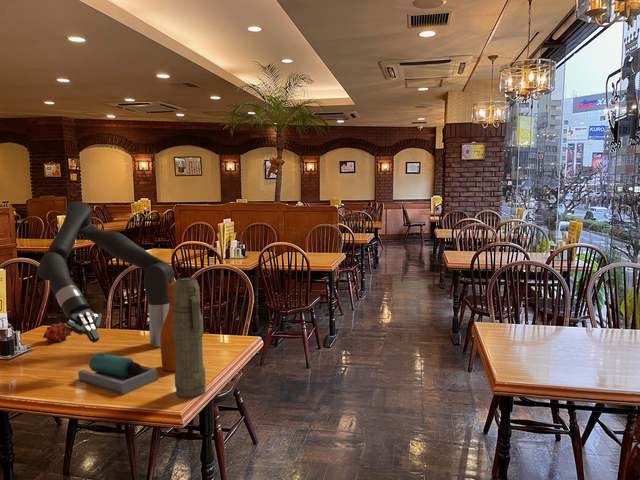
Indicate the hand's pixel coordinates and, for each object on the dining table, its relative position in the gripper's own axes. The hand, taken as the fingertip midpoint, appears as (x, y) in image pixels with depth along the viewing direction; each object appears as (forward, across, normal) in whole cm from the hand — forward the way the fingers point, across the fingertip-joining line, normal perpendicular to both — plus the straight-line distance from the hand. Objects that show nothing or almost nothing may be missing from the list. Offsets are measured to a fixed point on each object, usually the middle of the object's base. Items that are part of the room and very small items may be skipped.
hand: (96, 340), depth 151 cm
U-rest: (+16, 0, -1) cm, 16 cm away
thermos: (+36, -4, +19) cm, 41 cm away
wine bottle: (+22, -17, +4) cm, 28 cm away
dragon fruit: (-27, -16, -44) cm, 55 cm away
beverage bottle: (+3, 0, -7) cm, 8 cm away
